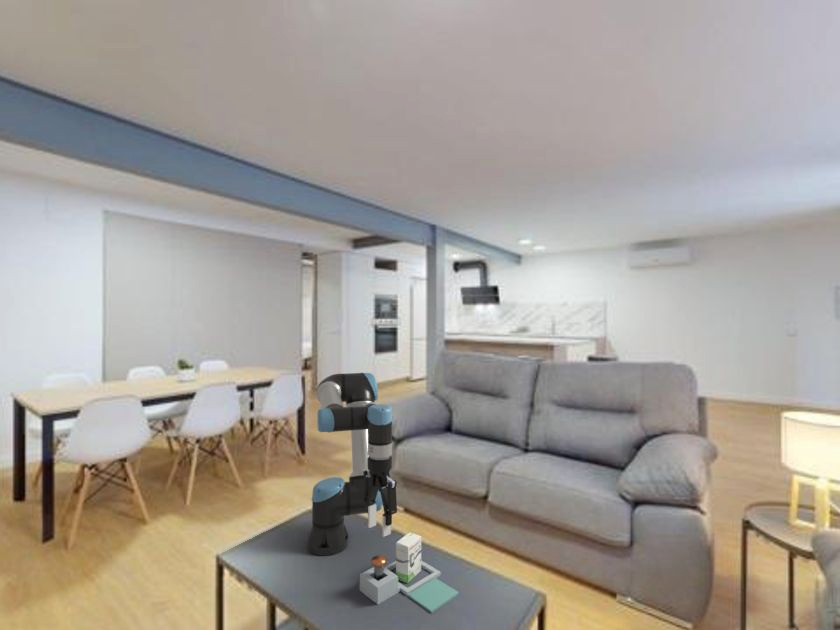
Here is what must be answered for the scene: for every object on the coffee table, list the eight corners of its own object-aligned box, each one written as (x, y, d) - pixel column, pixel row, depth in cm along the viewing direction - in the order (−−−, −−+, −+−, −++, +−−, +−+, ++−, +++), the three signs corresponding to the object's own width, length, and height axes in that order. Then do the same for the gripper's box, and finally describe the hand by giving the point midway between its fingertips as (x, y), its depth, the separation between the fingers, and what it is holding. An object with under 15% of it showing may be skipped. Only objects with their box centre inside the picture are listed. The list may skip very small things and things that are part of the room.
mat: (408, 596, 130) (408, 594, 130) (435, 579, 139) (435, 577, 139) (431, 613, 123) (431, 611, 123) (459, 594, 132) (459, 592, 132)
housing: (354, 585, 135) (354, 570, 135) (410, 556, 152) (410, 542, 152) (384, 609, 125) (384, 592, 125) (440, 575, 141) (440, 560, 141)
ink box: (407, 584, 136) (408, 547, 136) (395, 579, 139) (395, 542, 139) (421, 570, 144) (421, 535, 144) (409, 565, 146) (409, 531, 146)
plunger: (368, 578, 133) (369, 559, 133) (380, 572, 136) (380, 553, 136) (377, 584, 130) (377, 565, 130) (388, 578, 133) (389, 559, 133)
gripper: (351, 451, 137) (351, 523, 137) (390, 467, 123) (390, 547, 123) (370, 446, 142) (369, 515, 142) (409, 461, 128) (409, 538, 128)
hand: (379, 530), depth 133 cm, fingers open, 6 cm apart
